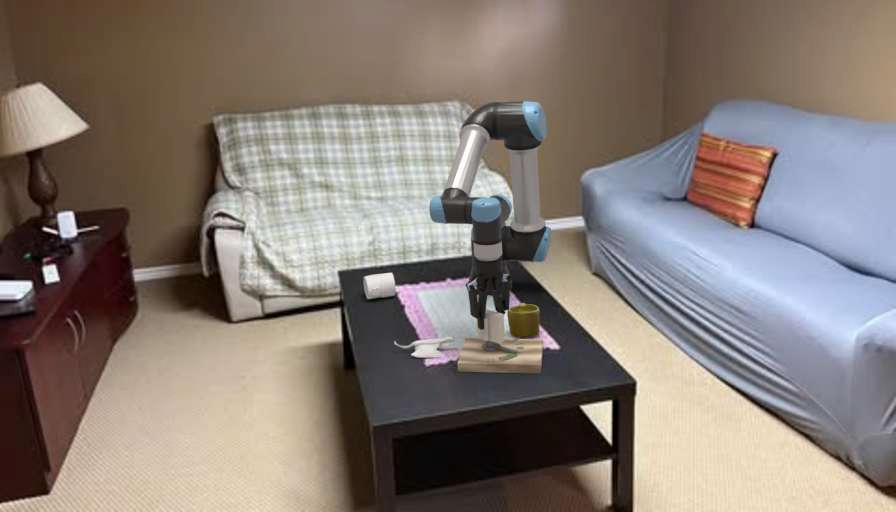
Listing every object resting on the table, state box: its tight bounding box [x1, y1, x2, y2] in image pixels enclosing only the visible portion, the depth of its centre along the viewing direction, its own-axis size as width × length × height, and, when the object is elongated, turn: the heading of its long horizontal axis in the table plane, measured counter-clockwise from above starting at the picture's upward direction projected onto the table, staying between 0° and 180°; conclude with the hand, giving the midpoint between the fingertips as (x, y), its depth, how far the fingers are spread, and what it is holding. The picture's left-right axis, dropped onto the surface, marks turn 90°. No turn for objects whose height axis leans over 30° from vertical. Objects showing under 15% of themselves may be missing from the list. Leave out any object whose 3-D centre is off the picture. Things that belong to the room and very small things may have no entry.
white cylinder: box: [363, 272, 396, 300], centre depth 261 cm, size 12×9×8 cm
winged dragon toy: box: [393, 336, 456, 359], centre depth 218 cm, size 18×10×4 cm, turn 93°
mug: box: [506, 302, 541, 339], centre depth 226 cm, size 12×10×10 cm
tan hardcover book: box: [457, 337, 544, 375], centre depth 211 cm, size 16×22×3 cm
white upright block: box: [476, 309, 518, 354], centre depth 210 cm, size 5×12×10 cm, turn 51°
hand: (491, 337), depth 212 cm, fingers closed on white upright block, 4 cm apart
